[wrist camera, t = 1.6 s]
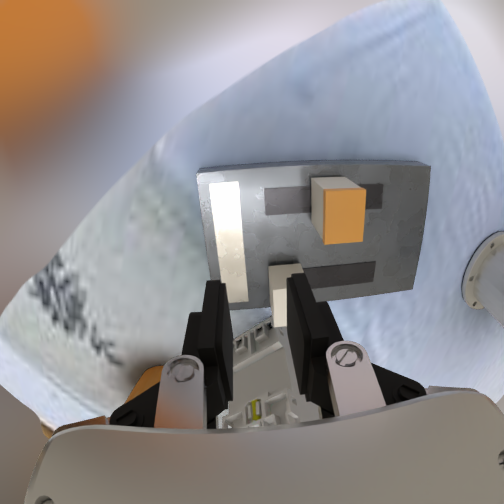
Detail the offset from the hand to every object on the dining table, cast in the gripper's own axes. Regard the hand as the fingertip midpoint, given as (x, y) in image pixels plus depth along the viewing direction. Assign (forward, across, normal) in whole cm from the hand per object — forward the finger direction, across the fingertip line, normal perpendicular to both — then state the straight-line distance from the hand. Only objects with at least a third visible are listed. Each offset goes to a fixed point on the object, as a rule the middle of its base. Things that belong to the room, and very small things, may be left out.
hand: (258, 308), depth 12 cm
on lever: (+14, -3, +8) cm, 17 cm away
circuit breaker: (+17, -3, +22) cm, 28 cm away
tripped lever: (+14, -7, 0) cm, 16 cm away
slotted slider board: (+17, -7, +4) cm, 19 cm away
